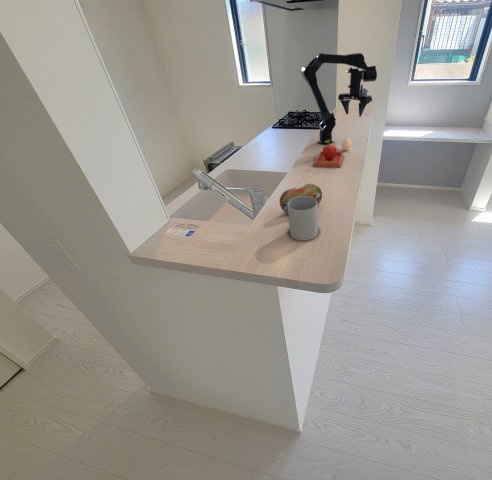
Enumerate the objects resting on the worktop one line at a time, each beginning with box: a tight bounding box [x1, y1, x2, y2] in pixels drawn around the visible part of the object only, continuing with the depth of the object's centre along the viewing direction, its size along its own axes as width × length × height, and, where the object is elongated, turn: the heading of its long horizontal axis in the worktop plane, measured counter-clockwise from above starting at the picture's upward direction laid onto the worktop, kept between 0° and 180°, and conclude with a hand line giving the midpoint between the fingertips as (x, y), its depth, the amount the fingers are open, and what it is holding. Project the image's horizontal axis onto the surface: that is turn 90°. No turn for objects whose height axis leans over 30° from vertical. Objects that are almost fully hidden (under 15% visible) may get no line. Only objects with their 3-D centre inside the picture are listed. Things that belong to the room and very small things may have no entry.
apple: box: [322, 140, 338, 160], centre depth 125 cm, size 8×7×10 cm
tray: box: [313, 150, 344, 168], centre depth 128 cm, size 15×12×2 cm
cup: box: [287, 196, 319, 242], centre depth 78 cm, size 8×8×10 cm
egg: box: [341, 138, 352, 152], centre depth 138 cm, size 5×5×6 cm
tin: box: [279, 183, 323, 215], centre depth 89 cm, size 15×3×8 cm, turn 117°
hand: (353, 115), depth 147 cm, fingers open, 9 cm apart
